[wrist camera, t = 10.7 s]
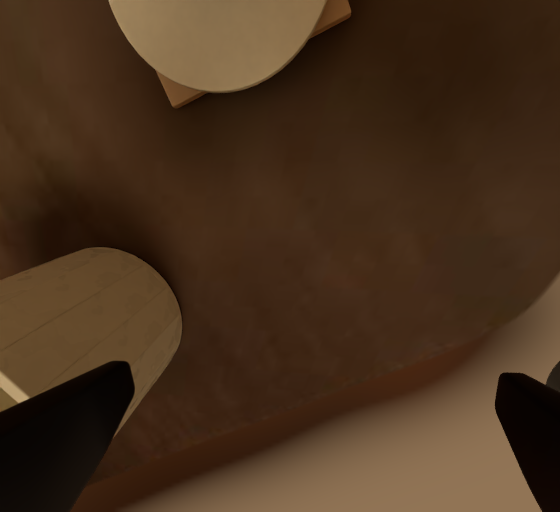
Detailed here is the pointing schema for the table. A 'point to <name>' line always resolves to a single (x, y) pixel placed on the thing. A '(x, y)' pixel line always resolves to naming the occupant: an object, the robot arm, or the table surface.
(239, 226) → the table surface
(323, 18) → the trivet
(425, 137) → the table surface
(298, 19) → the lid
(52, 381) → the pot
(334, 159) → the table surface
